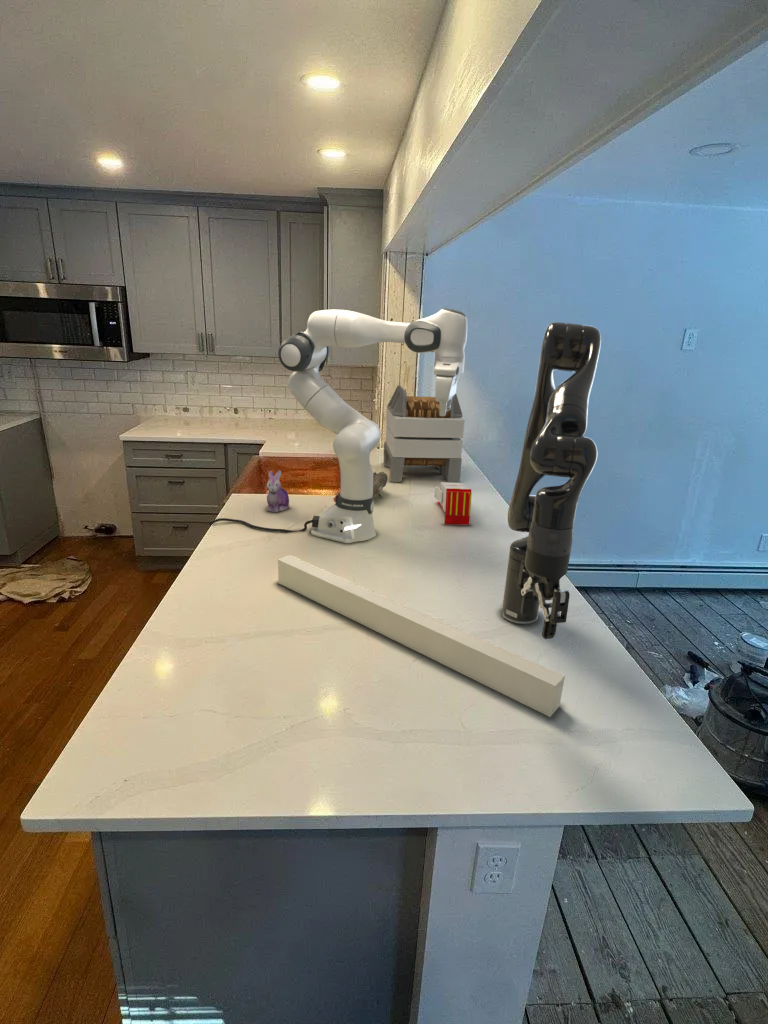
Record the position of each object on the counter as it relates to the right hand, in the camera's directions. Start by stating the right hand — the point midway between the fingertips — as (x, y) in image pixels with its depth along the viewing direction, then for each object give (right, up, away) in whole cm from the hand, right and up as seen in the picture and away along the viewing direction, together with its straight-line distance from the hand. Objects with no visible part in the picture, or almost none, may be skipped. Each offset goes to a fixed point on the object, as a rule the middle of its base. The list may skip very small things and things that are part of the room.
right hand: (536, 625), depth 106 cm
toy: (-2, +21, +117) cm, 119 cm away
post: (-26, -9, +32) cm, 42 cm away
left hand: (-10, +51, +67) cm, 85 cm away
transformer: (-11, +40, +169) cm, 174 cm away
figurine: (-70, +22, +113) cm, 134 cm away
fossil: (-34, +28, +132) cm, 139 cm away
